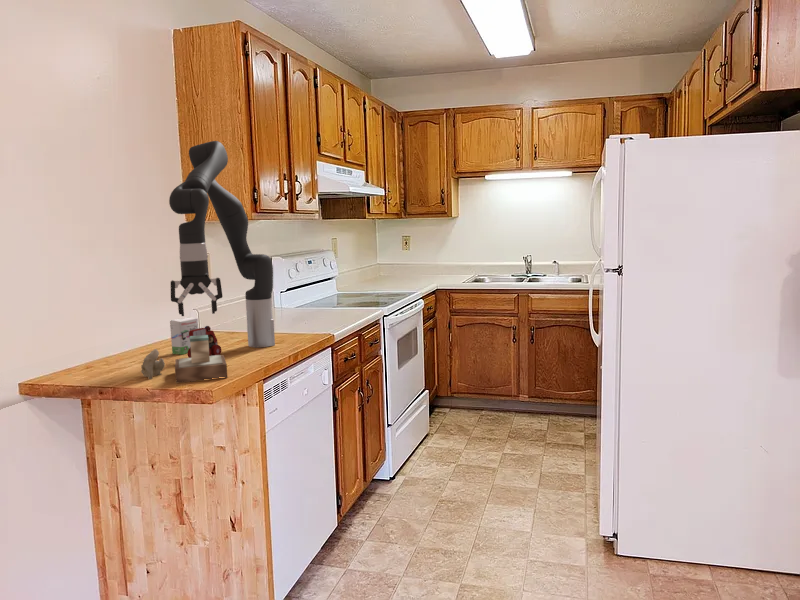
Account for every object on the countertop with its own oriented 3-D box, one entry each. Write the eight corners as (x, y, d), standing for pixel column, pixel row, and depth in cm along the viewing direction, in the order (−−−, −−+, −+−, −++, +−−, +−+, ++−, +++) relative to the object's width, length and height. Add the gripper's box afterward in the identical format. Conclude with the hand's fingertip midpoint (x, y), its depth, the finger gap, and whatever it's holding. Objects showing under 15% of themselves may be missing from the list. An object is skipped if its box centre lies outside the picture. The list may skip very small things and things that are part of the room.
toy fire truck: (225, 354, 212) (223, 324, 211) (201, 362, 201) (199, 330, 200) (209, 353, 215) (207, 323, 214) (184, 361, 204) (182, 329, 202)
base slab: (224, 367, 192) (223, 354, 191) (227, 377, 179) (226, 363, 178) (176, 372, 187) (175, 358, 187) (175, 383, 174) (174, 368, 173)
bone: (148, 366, 189) (159, 340, 186) (165, 378, 188) (176, 351, 185) (129, 375, 181) (140, 347, 178) (146, 387, 180) (157, 359, 177)
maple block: (209, 358, 186) (207, 334, 185) (209, 361, 181) (208, 337, 180) (191, 359, 184) (189, 336, 183) (191, 363, 179) (189, 339, 178)
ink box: (181, 355, 213) (179, 321, 212) (171, 353, 216) (169, 320, 214) (200, 350, 221) (198, 317, 219) (190, 349, 223) (188, 316, 222)
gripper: (218, 257, 184) (222, 311, 186) (167, 259, 180) (172, 315, 182) (220, 258, 177) (224, 314, 179) (167, 261, 173) (172, 318, 175)
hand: (198, 314), depth 181 cm, fingers open, 8 cm apart
